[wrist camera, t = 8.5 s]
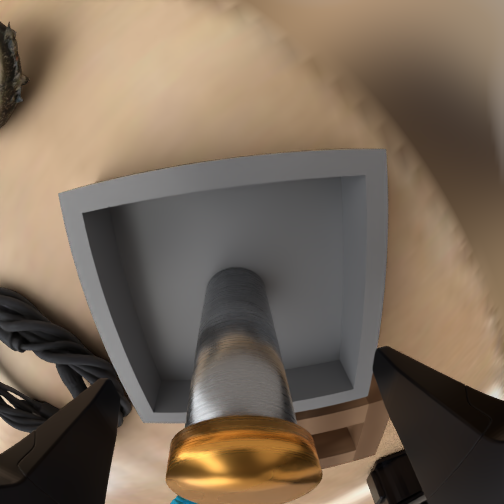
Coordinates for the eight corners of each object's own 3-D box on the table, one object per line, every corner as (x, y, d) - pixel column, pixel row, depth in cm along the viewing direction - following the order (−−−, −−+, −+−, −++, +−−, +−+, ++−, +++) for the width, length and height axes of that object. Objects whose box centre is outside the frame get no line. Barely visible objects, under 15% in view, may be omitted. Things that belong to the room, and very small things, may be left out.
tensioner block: (379, 367, 18) (396, 395, 15) (364, 429, 21) (374, 454, 18) (268, 390, 18) (273, 424, 15) (275, 448, 20) (279, 476, 18)
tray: (351, 148, 13) (386, 149, 10) (349, 360, 17) (367, 396, 14) (94, 183, 13) (58, 193, 10) (153, 383, 17) (143, 422, 14)
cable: (-33, 346, 16) (-55, 370, 12) (-28, 231, 13) (-67, 250, 9) (103, 445, 20) (92, 479, 16) (157, 370, 17) (144, 420, 13)
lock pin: (269, 257, 14) (331, 440, 4) (273, 321, 15) (315, 500, 6) (194, 264, 14) (142, 452, 4) (205, 327, 15) (187, 509, 6)
